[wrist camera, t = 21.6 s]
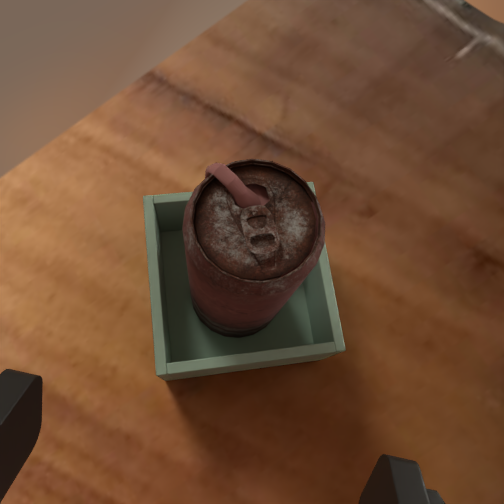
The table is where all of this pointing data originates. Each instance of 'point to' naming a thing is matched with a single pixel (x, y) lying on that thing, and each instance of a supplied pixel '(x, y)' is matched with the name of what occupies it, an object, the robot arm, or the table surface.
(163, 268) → the green tray box
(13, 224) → the table surface
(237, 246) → the can
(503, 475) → the table surface
